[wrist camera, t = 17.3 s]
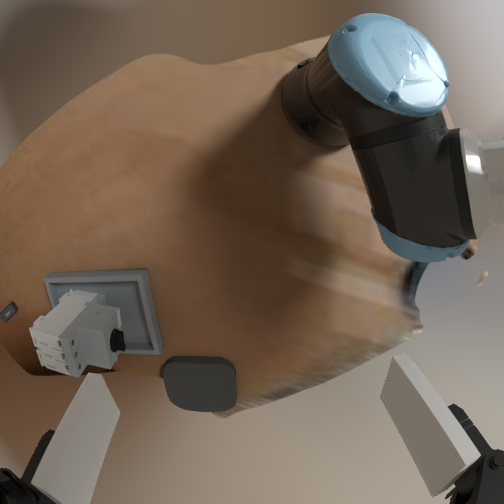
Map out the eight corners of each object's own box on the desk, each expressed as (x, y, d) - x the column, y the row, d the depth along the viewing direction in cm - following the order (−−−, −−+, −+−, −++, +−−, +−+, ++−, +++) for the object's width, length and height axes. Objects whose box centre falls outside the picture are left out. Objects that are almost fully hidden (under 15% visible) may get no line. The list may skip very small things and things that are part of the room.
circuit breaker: (138, 333, 48) (112, 386, 34) (76, 322, 47) (40, 365, 32) (135, 299, 46) (103, 347, 31) (70, 289, 45) (27, 328, 30)
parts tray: (147, 268, 45) (142, 274, 42) (163, 345, 50) (160, 354, 47) (51, 272, 44) (43, 278, 41) (73, 340, 49) (67, 348, 46)
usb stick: (6, 321, 48) (3, 324, 46) (1, 313, 47) (-3, 315, 45) (19, 308, 47) (16, 311, 45) (14, 299, 46) (10, 302, 44)
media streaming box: (162, 353, 51) (159, 362, 48) (235, 355, 52) (235, 365, 49) (173, 401, 55) (171, 410, 52) (236, 403, 56) (237, 413, 53)
